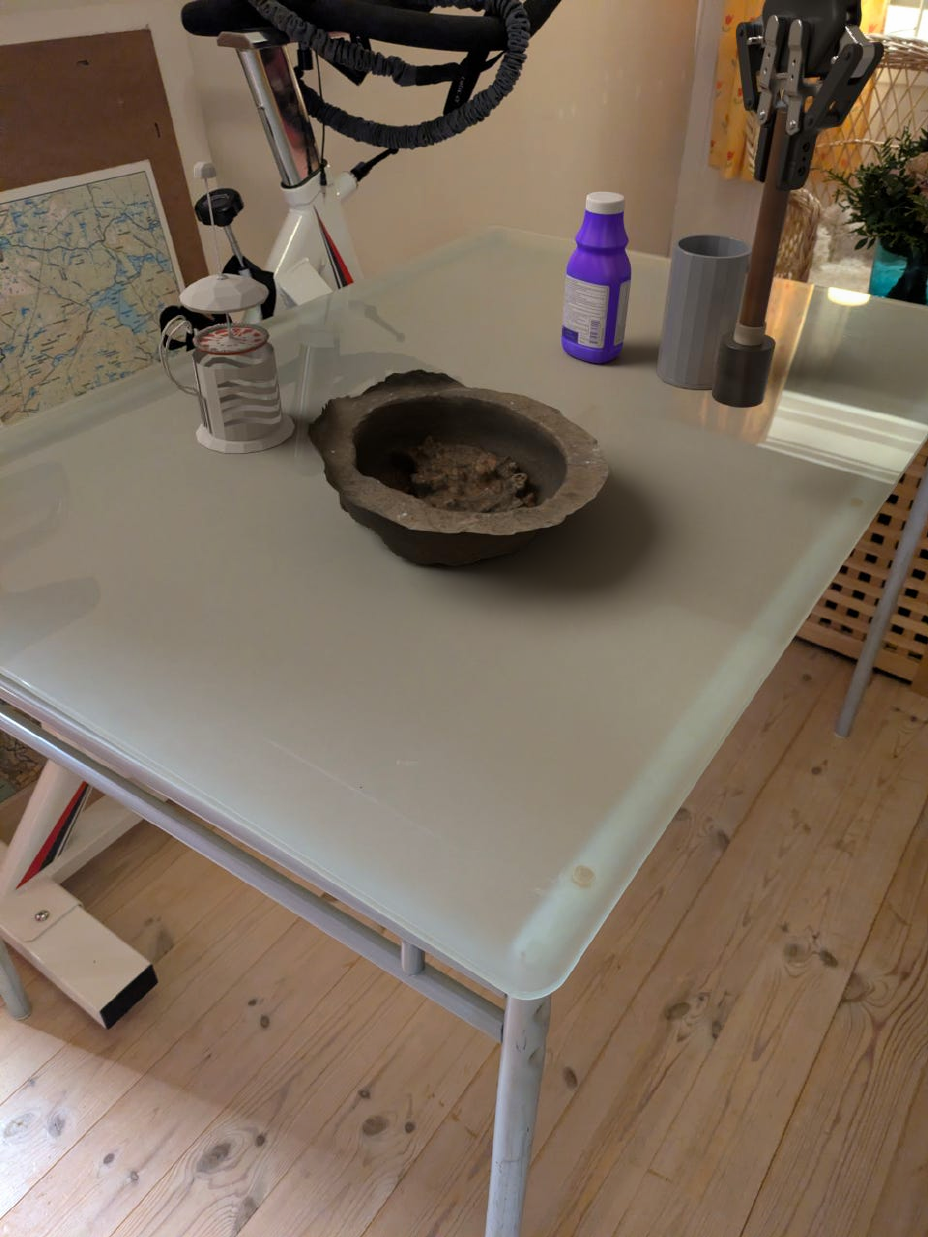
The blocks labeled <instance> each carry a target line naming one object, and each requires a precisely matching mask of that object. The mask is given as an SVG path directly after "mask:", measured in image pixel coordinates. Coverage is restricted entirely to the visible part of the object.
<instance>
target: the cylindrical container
mask: <svg viewBox="0 0 928 1237" xmlns="http://www.w3.org/2000/svg"><path fill="white" fill-rule="evenodd" d="M752 248H753V244H752V243H750V242H749V241H747V240H744V239H743V238H739V237H736V236H733V235H725V234H719V233H695V234H686V235H683V236H680V237H678V238H677V239H675V240H674V241H673V244H672V250H671V259H670V265H669V273H668V282H667V289H666V296H665V303H664V311H663V317H662V319H663V320H662V326H661V334H660V341H659V348H658V356H657V362H656V363H657V364H656V374H657V376H658V378H659V379H660V380H662V381H663V382H665V383H667V384H669V385H671V386H674V387H678V388H680V389H681V388H682V389H687V390H712V388H713V382H714V376H715V370H716V364H717V358H718V353H719V347H720V341H721V337H722V336H723V335H724V334H725V333H728V332H731V331H735V327H736V322H737V320H738V319H740V314H741V308H742V303H743V297H744V292H745V286H746V281H747V275H748V270H749V264H750V259H751V253H752Z"/></svg>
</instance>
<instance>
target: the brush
mask: <svg viewBox="0 0 928 1237" xmlns="http://www.w3.org/2000/svg"><path fill="white" fill-rule="evenodd" d="M804 113H807V110H806V109H805V111H804ZM787 114H788V107H785V108H779V109H778V110H777V115H776V121H775V126H774V132H773V137H772V143H771V148H770V154H769V159H768V165H767V170H766V176H765V181H764V183H763V187H762V193H761V199H760V203H759V209H758V216H757V220H756V226H755V232H754V237H753V243H752V246H753V248H752V253H751V259H750V264H749V270H748V275H747V281H746V286H745V292H744V297H743V303H742V308H741V314H740V319H738V320H737V322H736V327H735V331H731V332H728V333H725V334H724V335H723V336H722V337H721V341H720V347H719V353H718V358H717V364H716V370H715V376H714V382H713V388H712V389H711V397H712V399H713V400H714V401H716V402H717V403H719V404H721V405H724V406H727V407H732V408H739V409H748V408H754V407H757V406H760V405H761V404H763V403H764V401H765V398H766V393H767V388H768V382H769V378H770V373H771V368H772V364H773V360H774V354H775V349H776V344H777V343H776V340H775V339H774V338H773V337H772V336H770V335H768V334H766V331H767V326H768V324H767V322H766V318H767V313H768V307H769V302H770V297H771V292H772V287H773V283H774V276H775V273H776V267H777V263H778V258H779V252H780V247H781V242H782V238H783V233H784V227H785V222H786V218H787V212H788V207H789V203H790V202H789V201H790V197H791V192H792V190H790V191H782V190H779V189H777V188H776V187H775V178H776V173H777V167H778V162H779V157H780V151H781V146H782V141H783V135H784V134H788V133H787V131H786V121H787Z"/></svg>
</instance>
